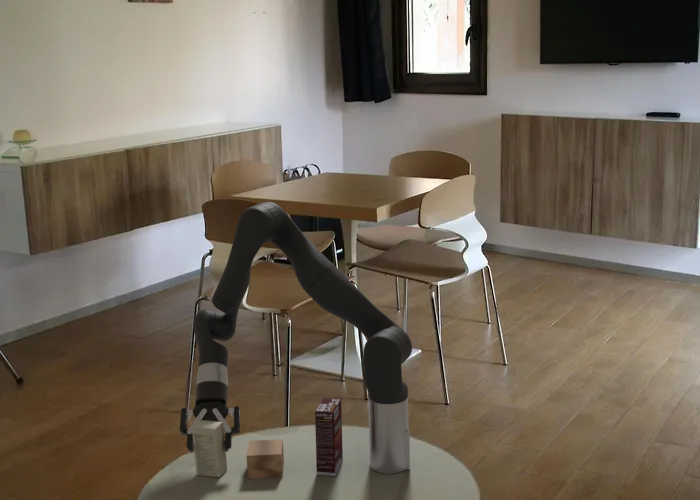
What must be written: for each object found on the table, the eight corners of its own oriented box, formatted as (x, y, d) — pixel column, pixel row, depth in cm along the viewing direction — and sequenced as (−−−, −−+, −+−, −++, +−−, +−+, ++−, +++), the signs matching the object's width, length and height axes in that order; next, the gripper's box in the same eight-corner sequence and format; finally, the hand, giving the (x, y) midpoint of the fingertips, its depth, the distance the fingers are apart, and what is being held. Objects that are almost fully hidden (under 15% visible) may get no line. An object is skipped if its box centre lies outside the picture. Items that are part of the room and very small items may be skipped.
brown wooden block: (284, 462, 210) (282, 439, 209) (282, 478, 203) (281, 454, 201) (250, 463, 210) (249, 440, 209) (247, 479, 202) (246, 455, 201)
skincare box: (227, 469, 207) (224, 421, 204) (219, 478, 203) (216, 429, 200) (203, 466, 209) (200, 418, 206) (194, 474, 205) (191, 426, 202)
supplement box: (336, 476, 202) (334, 412, 199) (316, 475, 203) (313, 411, 200) (344, 460, 210) (342, 398, 207) (324, 458, 211) (322, 397, 208)
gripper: (179, 380, 209) (175, 446, 200) (240, 378, 209) (238, 444, 200) (184, 393, 215) (180, 457, 206) (243, 390, 215) (241, 455, 207)
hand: (209, 450), depth 203 cm, fingers open, 7 cm apart
